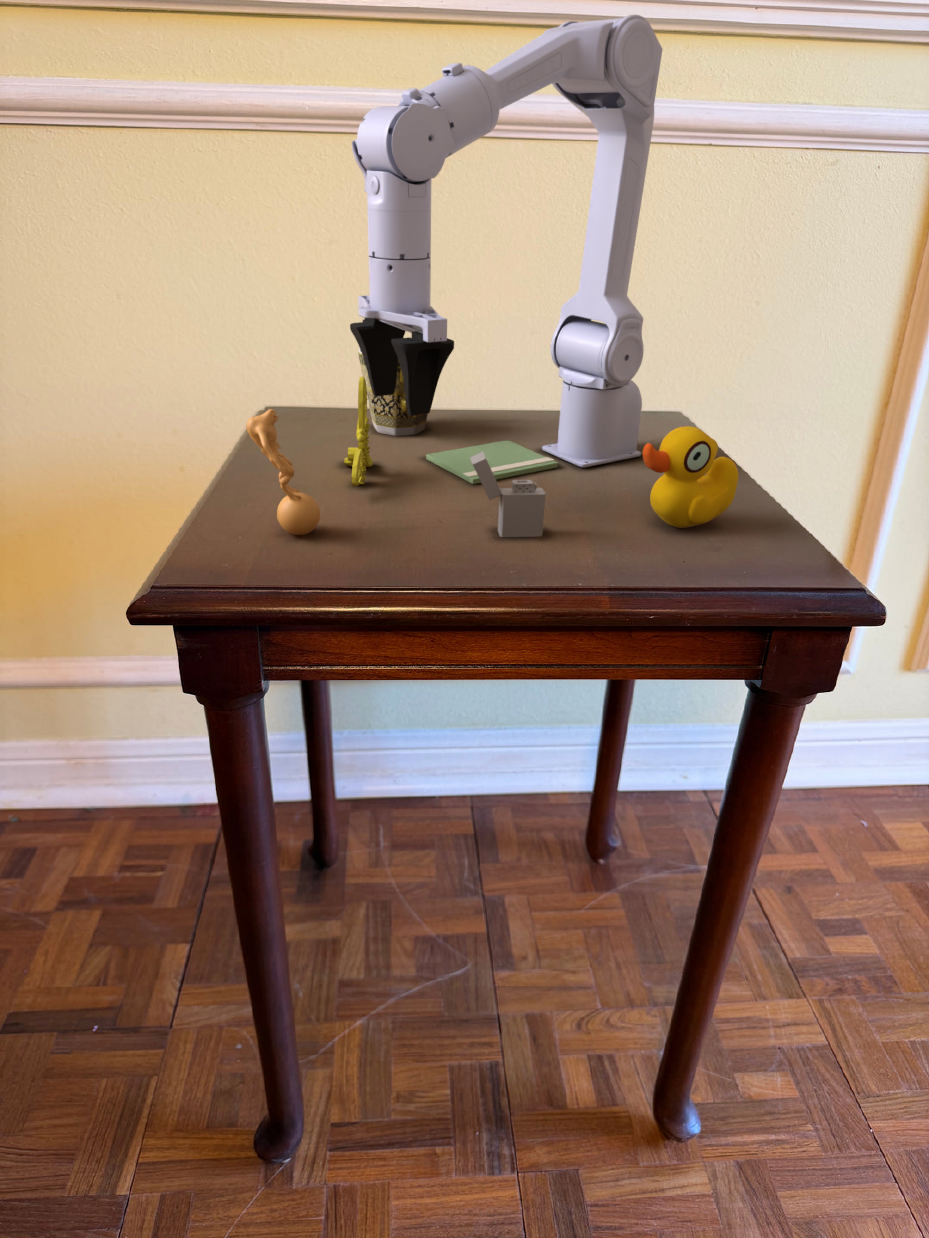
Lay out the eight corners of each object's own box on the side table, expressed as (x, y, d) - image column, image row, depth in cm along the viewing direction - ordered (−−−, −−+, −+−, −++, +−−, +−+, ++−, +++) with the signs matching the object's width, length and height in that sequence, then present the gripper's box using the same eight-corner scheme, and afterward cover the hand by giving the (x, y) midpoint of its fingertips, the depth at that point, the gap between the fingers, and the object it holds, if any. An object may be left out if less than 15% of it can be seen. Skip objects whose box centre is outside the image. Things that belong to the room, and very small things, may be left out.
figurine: (327, 549, 80) (320, 420, 75) (260, 554, 79) (247, 423, 73) (315, 515, 87) (308, 395, 82) (253, 520, 86) (242, 398, 80)
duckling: (650, 543, 84) (664, 441, 79) (618, 523, 88) (630, 425, 83) (743, 526, 88) (762, 429, 83) (709, 508, 92) (725, 414, 88)
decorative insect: (370, 524, 99) (362, 481, 90) (341, 524, 99) (330, 480, 90) (377, 425, 103) (369, 374, 94) (349, 424, 103) (339, 373, 94)
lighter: (539, 529, 86) (545, 450, 82) (542, 536, 85) (548, 456, 81) (467, 530, 85) (469, 450, 81) (469, 537, 84) (472, 456, 80)
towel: (507, 444, 110) (508, 439, 110) (558, 467, 103) (558, 461, 102) (425, 459, 104) (425, 453, 104) (472, 484, 97) (473, 478, 96)
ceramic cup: (353, 420, 118) (351, 343, 113) (425, 415, 120) (426, 340, 116) (374, 449, 107) (372, 365, 102) (453, 444, 109) (455, 362, 105)
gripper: (327, 249, 84) (334, 391, 91) (396, 268, 73) (398, 427, 80) (393, 247, 88) (395, 384, 94) (469, 265, 77) (464, 418, 83)
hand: (400, 403), depth 87 cm, fingers open, 7 cm apart
